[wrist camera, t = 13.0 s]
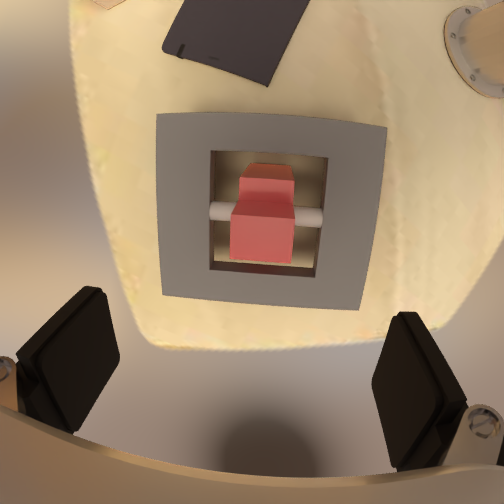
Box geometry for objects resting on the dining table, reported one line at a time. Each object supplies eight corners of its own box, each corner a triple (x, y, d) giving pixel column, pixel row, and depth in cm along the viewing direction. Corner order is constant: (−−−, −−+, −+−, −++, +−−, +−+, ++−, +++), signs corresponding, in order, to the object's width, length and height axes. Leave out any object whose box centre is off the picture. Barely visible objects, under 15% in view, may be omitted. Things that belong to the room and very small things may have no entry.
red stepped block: (290, 165, 31) (297, 192, 19) (285, 225, 33) (288, 286, 21) (250, 163, 31) (231, 187, 19) (247, 223, 34) (229, 281, 21)
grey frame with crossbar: (357, 128, 31) (387, 127, 21) (340, 266, 37) (358, 310, 27) (190, 118, 32) (156, 113, 22) (190, 254, 38) (162, 295, 28)
